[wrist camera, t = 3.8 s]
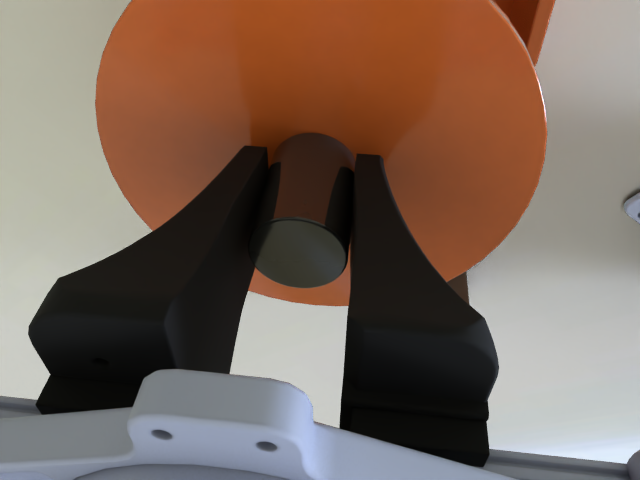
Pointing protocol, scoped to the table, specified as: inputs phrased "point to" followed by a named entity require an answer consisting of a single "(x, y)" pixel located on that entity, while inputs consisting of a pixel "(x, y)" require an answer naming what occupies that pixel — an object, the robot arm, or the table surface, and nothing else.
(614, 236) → the table surface
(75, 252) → the table surface
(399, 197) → the pan lid
